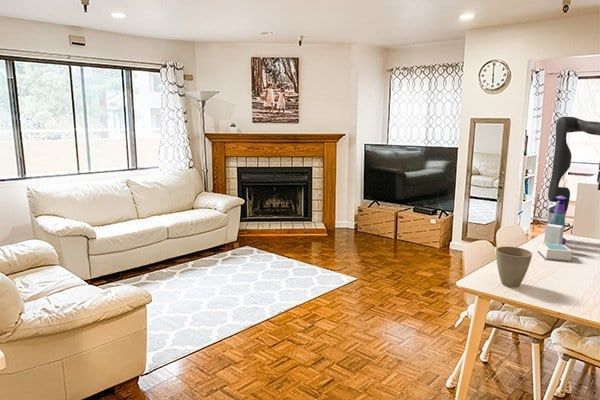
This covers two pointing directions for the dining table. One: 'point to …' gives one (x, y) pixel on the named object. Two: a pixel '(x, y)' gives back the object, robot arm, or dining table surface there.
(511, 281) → the plant pot
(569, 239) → the dining table surface
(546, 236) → the skincare box
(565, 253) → the block
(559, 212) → the lantern
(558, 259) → the mat
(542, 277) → the dining table surface
